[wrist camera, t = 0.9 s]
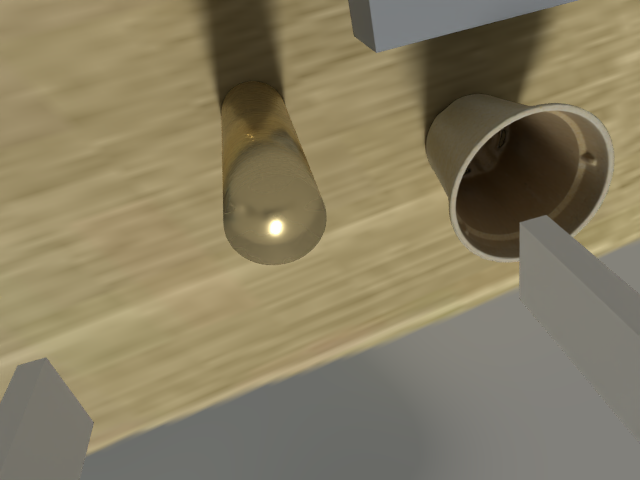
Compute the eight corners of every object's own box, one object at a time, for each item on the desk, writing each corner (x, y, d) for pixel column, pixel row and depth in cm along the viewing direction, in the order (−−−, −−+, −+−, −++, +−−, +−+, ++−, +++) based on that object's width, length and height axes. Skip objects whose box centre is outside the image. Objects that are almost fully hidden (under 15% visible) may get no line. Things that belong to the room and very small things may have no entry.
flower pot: (385, 101, 32) (433, 149, 25) (523, 42, 32) (612, 74, 25) (419, 217, 38) (468, 285, 30) (539, 168, 37) (617, 225, 30)
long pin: (232, 151, 32) (240, 275, 21) (212, 90, 30) (209, 190, 18) (292, 135, 33) (335, 250, 21) (277, 73, 30) (314, 162, 19)
